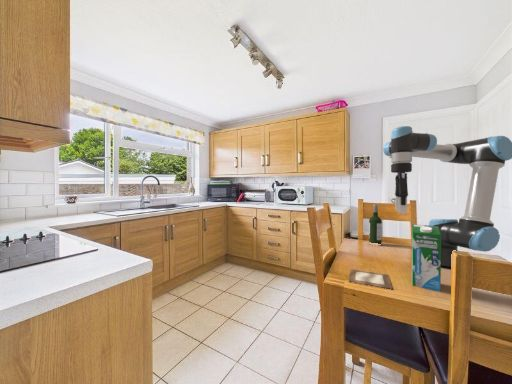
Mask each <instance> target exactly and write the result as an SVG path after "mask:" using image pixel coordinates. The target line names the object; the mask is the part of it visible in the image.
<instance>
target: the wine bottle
mask: <svg viewBox="0 0 512 384" xmlns="http://www.w3.org/2000/svg"><path fill="white" fill-rule="evenodd" d="M378 207H379V206H378V204H373V207H372V208H373V211H372V216H371V217H370V218H369V219H368V233H369V234H368V243H369V242H371V243H378V244H381V243H382V236H383V235H382V233H383V232H382V231H383V230H382V229H383V227H382V226H383V224H382V223H383V221H382V218H381V217H380V216H379V213H378V212H379V211H378Z"/></svg>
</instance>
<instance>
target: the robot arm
mask: <svg viewBox="0 0 512 384" xmlns="http://www.w3.org/2000/svg"><path fill="white" fill-rule="evenodd" d="M383 153H384V155H385V156H387V157H389V159H390V160H391V161H390V173H392V174H393V173H395V174H397V175H395V178H394V179H395V192H394V195H395V204H394V205H395V207H394V208H395V211H397V212H398V214H408V197H409V191H408V174H407V173H412V168H413V166H412V165H413V164H412V161H413V158H420V159H421V158H423V159H429V160H430V159H431V160H432V159H433V160H439V161H440V162H443V163H449V164H450V163H451V164H459V165H469V166H470V168H472V172H471V177H470V181H469V182H470V183H469V189H468V193H467V198H466V205H465V210H464V215H463V216H461V217H460V218H459V219H456V218H455V219H454V218H451V219H448V218H445V219H444V218H440V219H439V218H438V219H437V218H436V219H429V223H428V226H438V228H439V231H440V234H441V267H451V254H452V251H453V250H456V251H458V247H460V248H463V249H464V248H465V249H469V250H471V251H475V252H477V251H478V252H484V253H485V252H489V251H492V250H493V249H495V248H496V247H497V245H498V243H499V241H500V238H501V237H500V236H501V235H500V232H499V230H498V229H497V228H496V227H494V226H495V224H494V222H493V221H492V220H491V215H492V210H493V209H492V208H493V206H494V205H493V203H494V198H495V192H496V187H497V182H498V174H499V170H500V169H501V168H503V167H505V166H506V165H505V164H506V161H510V160H512V140H511V139H510V138H509V137H507V136H505V135H496V136H489V137H485V138H479V139H473V140H470V141H469V140H468V141H464V142H458V143H457V142H456V143H446V144H438V139H437V136H436V135H434V134H431V133H428V132H427V133H419V132H413V127H411V126H408V125H405V126H404V125H403V126H402V125H401V126H398V127H394V128H393V129H392V130H391V137H390V141H389V142H386V143H384V145H383ZM458 220H459V221H458ZM458 252H459V251H458Z"/></svg>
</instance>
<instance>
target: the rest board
mask: <svg viewBox="0 0 512 384" xmlns="http://www.w3.org/2000/svg"><path fill="white" fill-rule="evenodd" d="M351 282H354V283H353V284H357V283H359V284H358V285H362V284H365V285H364V286H368V285H370V286H369V287H373V286H375V288H379V287H381V288H380V289H385V288H386V289H385V290H390V289H391V290H393V286H392V283H391V280H390V277H389V275H388V274H387V273H386V274H385V273H378V272H373V271H366V270H358V269H352V268H350V271H349V278H348V283H351Z"/></svg>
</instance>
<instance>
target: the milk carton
mask: <svg viewBox="0 0 512 384" xmlns="http://www.w3.org/2000/svg"><path fill="white" fill-rule="evenodd" d="M441 272H442V265H441V234H440V231H439V228H438V226H429V224H428V225H427V224H425V225H424V224H415V223H414V224H412V225H411V285H412V287H416V288H422V289H426V290H431V291H436V292H441V285H442V284H441V282H442V281H441V280H442V279H441V278H442V277H441V275H442V274H441Z"/></svg>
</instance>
